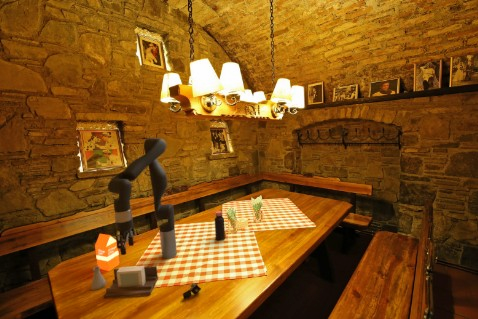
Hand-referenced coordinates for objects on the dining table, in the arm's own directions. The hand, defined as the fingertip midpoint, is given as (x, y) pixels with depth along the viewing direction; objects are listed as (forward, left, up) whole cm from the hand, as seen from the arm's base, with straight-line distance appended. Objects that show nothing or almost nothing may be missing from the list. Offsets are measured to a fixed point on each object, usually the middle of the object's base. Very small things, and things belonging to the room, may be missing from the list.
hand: (127, 249), depth 114 cm
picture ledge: (0, 0, -21) cm, 21 cm away
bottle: (-48, +43, -21) cm, 68 cm away
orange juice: (-22, -23, -21) cm, 38 cm away
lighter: (+9, +32, -21) cm, 39 cm away
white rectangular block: (0, 0, -19) cm, 19 cm away
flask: (-4, -19, -21) cm, 29 cm away
